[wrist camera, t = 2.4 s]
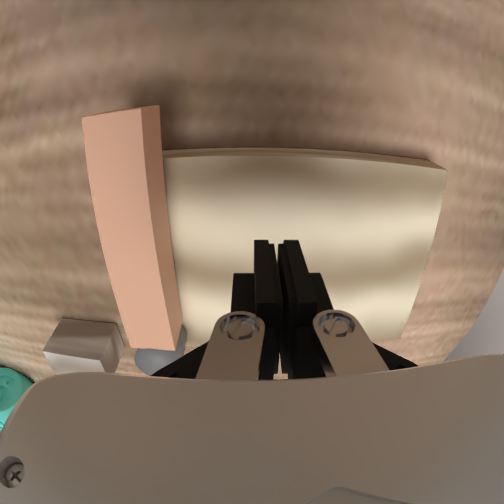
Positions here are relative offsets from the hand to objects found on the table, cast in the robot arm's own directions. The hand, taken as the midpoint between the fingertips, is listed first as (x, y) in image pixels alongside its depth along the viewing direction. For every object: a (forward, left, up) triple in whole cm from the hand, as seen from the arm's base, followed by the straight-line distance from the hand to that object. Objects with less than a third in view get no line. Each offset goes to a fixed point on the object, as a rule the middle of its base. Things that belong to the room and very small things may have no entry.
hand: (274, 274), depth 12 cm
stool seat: (+5, -4, -9) cm, 11 cm away
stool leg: (+2, -7, -6) cm, 10 cm away
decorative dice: (+26, -34, -9) cm, 43 cm away
